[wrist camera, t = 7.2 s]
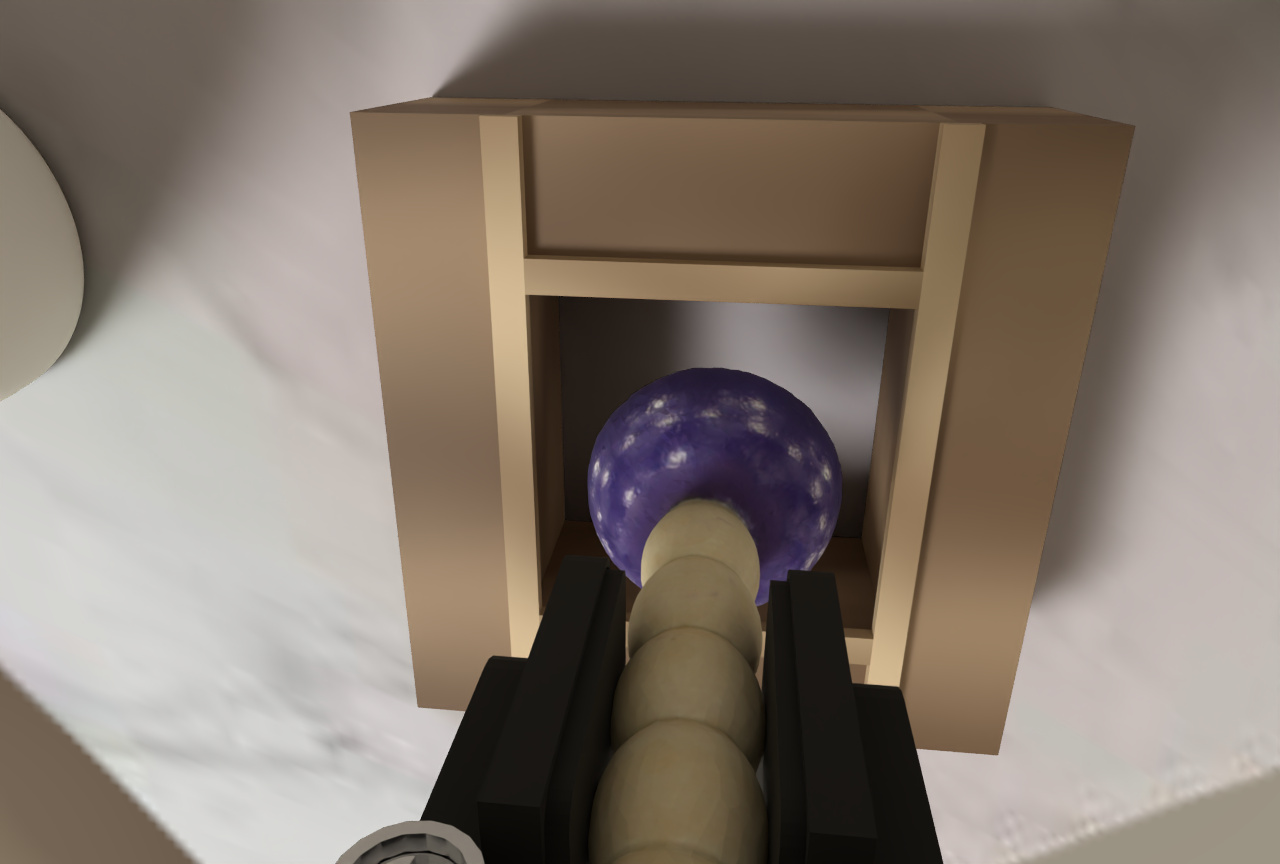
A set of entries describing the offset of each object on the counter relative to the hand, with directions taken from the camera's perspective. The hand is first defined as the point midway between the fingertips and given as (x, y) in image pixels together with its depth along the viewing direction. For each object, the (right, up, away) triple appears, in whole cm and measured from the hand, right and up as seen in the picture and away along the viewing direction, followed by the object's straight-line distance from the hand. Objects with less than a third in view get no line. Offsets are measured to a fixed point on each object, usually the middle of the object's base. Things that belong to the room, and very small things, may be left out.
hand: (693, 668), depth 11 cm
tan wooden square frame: (+1, +4, +9) cm, 10 cm away
